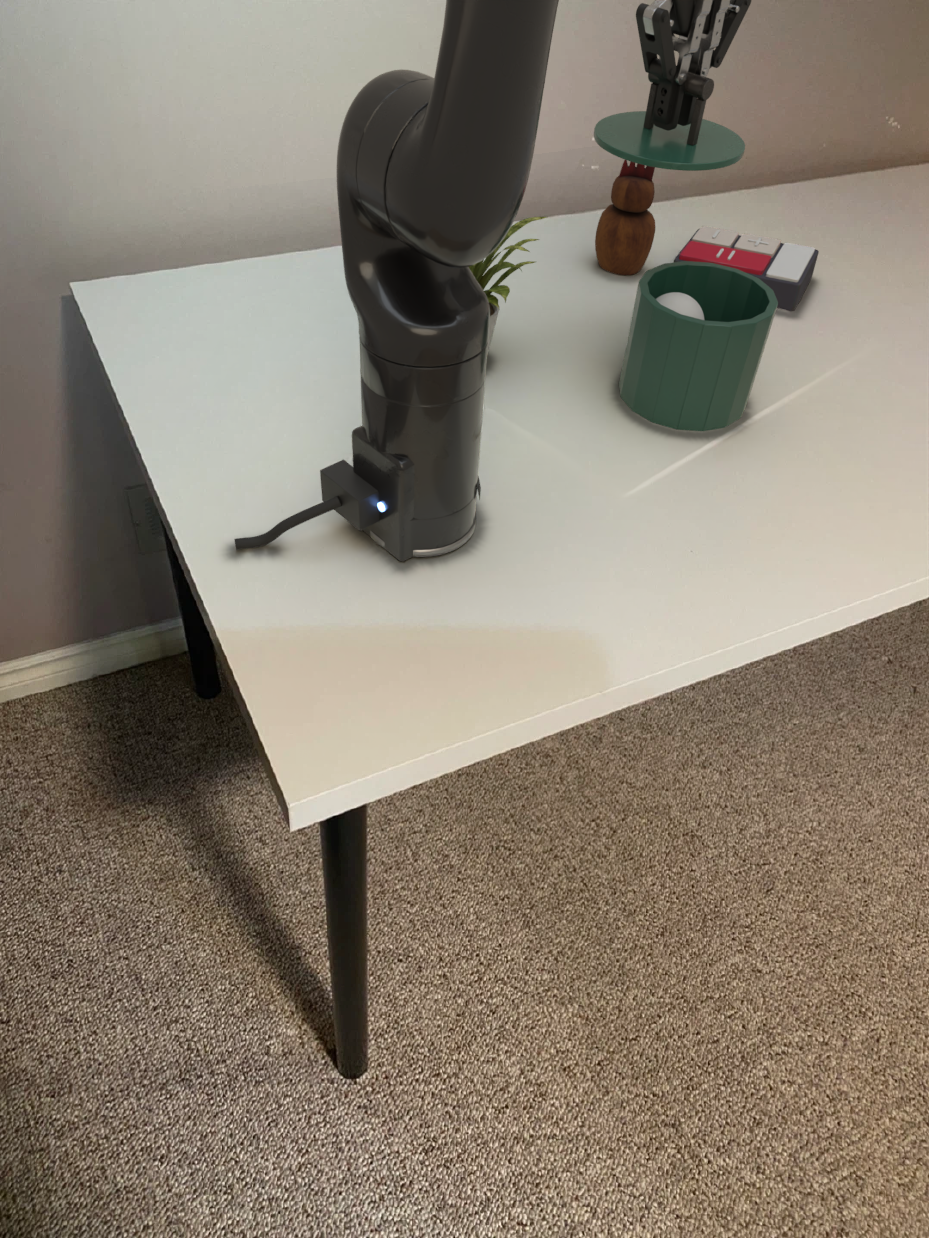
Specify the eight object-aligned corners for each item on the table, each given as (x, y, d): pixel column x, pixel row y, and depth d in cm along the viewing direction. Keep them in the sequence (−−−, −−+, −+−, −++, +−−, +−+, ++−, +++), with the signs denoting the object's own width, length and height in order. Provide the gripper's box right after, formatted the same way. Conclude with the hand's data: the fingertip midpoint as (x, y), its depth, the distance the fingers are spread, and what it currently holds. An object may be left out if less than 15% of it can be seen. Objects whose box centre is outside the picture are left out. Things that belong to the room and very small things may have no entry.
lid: (680, 190, 78) (699, 106, 73) (561, 142, 85) (571, 62, 80) (771, 157, 85) (793, 78, 80) (654, 115, 92) (668, 40, 87)
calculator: (699, 221, 116) (821, 243, 111) (693, 255, 119) (812, 278, 114) (673, 253, 109) (802, 279, 104) (668, 289, 112) (792, 315, 107)
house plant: (568, 366, 97) (591, 208, 85) (479, 417, 89) (491, 251, 78) (468, 316, 103) (477, 163, 91) (378, 360, 96) (375, 199, 84)
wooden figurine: (653, 270, 114) (680, 140, 103) (633, 287, 110) (659, 154, 99) (604, 255, 116) (625, 126, 105) (583, 271, 112) (603, 140, 102)
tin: (692, 451, 87) (722, 340, 79) (593, 393, 93) (611, 285, 85) (768, 405, 93) (804, 298, 85) (671, 354, 100) (695, 249, 91)
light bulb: (706, 403, 90) (703, 305, 84) (645, 408, 92) (637, 312, 85) (706, 374, 94) (703, 278, 88) (648, 379, 96) (641, 285, 89)
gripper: (707, -105, 66) (657, 153, 78) (810, -115, 73) (749, 123, 85) (626, -122, 69) (590, 127, 82) (732, -130, 76) (684, 101, 89)
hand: (672, 124), depth 83 cm, fingers closed on lid
